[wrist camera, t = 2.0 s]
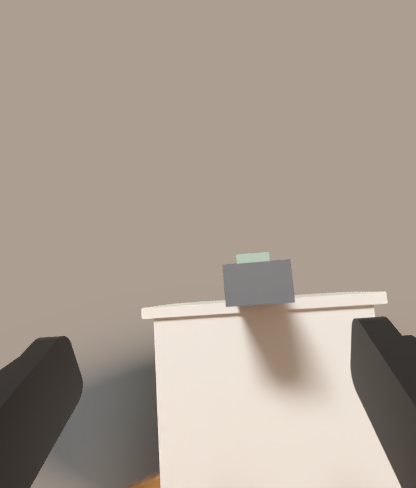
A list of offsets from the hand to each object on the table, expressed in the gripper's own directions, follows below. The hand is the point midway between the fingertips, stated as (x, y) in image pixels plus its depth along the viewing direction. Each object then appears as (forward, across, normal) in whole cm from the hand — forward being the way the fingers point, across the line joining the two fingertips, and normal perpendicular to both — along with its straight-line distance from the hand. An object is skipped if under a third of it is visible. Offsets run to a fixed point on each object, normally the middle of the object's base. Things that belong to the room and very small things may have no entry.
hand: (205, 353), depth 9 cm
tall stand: (+9, -2, +40) cm, 41 cm away
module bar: (+19, -2, +10) cm, 22 cm away
